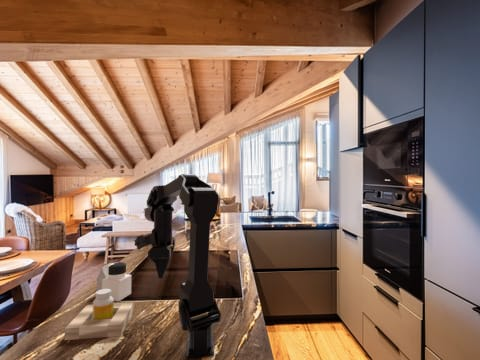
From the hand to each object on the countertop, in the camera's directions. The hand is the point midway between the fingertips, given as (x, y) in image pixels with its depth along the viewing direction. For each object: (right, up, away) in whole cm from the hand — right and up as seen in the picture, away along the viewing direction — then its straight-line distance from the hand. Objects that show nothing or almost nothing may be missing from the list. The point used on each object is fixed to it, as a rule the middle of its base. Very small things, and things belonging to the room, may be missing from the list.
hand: (162, 273), depth 86 cm
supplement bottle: (-15, -12, -9) cm, 21 cm away
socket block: (-15, -12, -9) cm, 21 cm away
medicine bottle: (-20, -13, +11) cm, 26 cm away
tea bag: (-26, -13, +16) cm, 33 cm away
